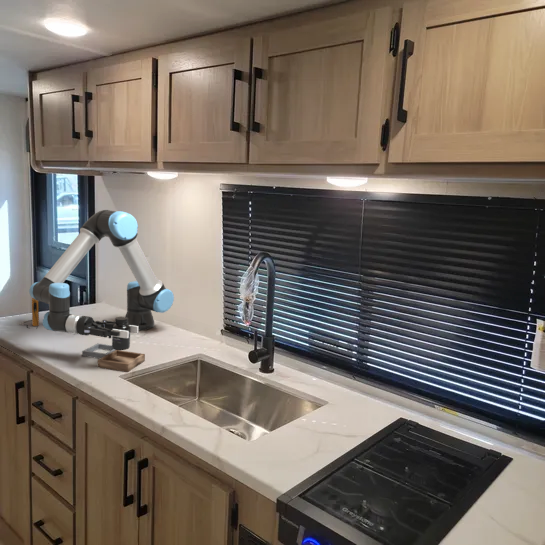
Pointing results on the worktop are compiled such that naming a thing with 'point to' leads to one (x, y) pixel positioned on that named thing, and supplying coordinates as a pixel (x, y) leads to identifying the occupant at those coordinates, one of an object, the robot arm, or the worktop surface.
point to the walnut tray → (121, 360)
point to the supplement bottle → (120, 342)
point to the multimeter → (34, 313)
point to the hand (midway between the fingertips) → (132, 332)
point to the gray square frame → (90, 353)
